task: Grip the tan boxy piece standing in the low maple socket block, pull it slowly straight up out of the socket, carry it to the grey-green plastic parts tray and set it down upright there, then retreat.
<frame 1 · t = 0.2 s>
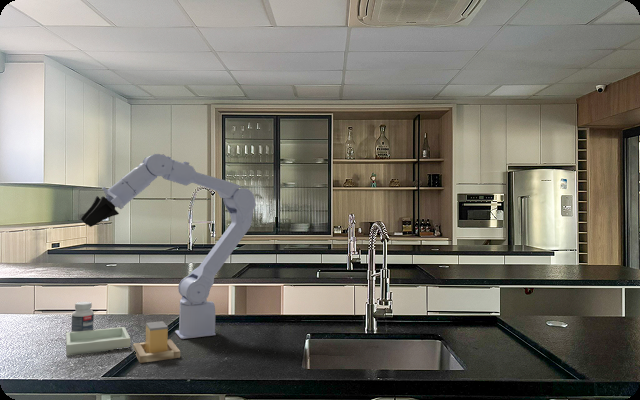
hand: (85, 223, 117), 31 cm above the countertop, tool tilted 45°, fingers open, 7 cm apart
socket block: (156, 353, 114), on the countertop
pill bottle: (82, 336, 127), on the countertop
parts tray: (97, 345, 119), on the countertop
tan boxy piece: (156, 339, 114), in the socket block
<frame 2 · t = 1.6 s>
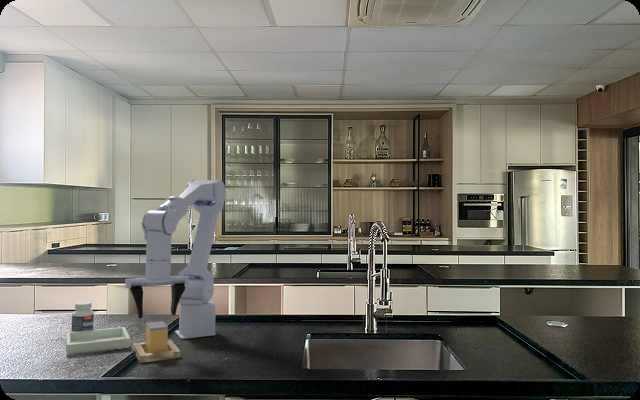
hand: (157, 315, 114), 9 cm above the countertop, tool pointing down, fingers open, 7 cm apart
nothing on the countertop moved.
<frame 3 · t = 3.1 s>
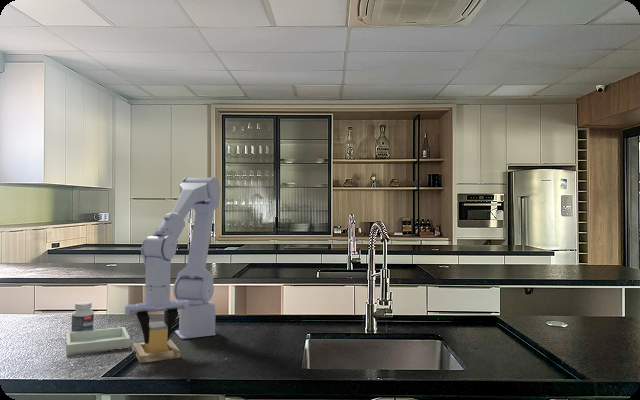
hand: (156, 341, 114), 3 cm above the countertop, tool pointing down, fingers closed on tan boxy piece, 4 cm apart
tan boxy piece: (156, 339, 114), in the socket block, touching gripper
everything else where it was.
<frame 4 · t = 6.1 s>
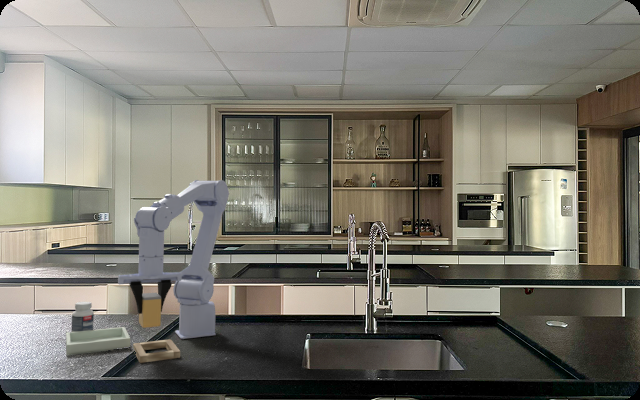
hand: (149, 311, 115), 10 cm above the countertop, tool pointing down, fingers closed on tan boxy piece, 4 cm apart
tan boxy piece: (149, 309, 115), point 10 cm above the countertop, touching gripper
everything else where it was.
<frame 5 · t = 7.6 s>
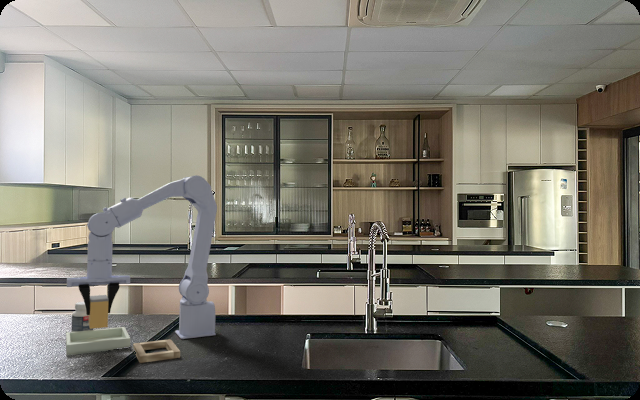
hand: (98, 313, 119), 8 cm above the countertop, tool pointing down, fingers closed on tan boxy piece, 4 cm apart
tan boxy piece: (98, 311, 119), point 9 cm above the countertop, touching gripper
everything else where it was.
when the fingers open (4 cm above the countertop, at t = 9.0 s): tan boxy piece stays where it is, resting on parts tray.
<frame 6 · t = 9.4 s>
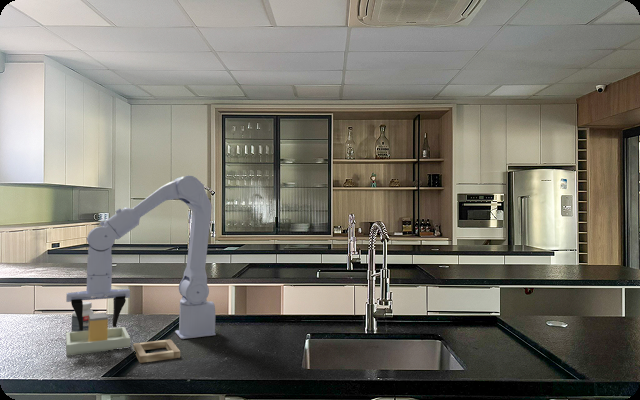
hand: (97, 327, 119), 4 cm above the countertop, tool pointing down, fingers open, 7 cm apart
tan boxy piece: (97, 329, 119), in the parts tray
everything else where it was.
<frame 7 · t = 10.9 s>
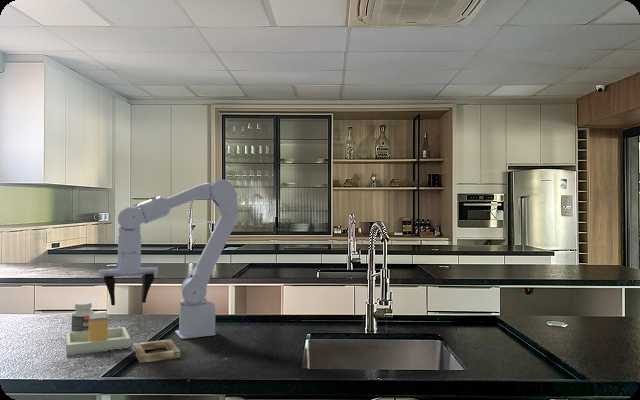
hand: (128, 303, 126), 9 cm above the countertop, tool pointing down, fingers open, 7 cm apart
nothing on the countertop moved.
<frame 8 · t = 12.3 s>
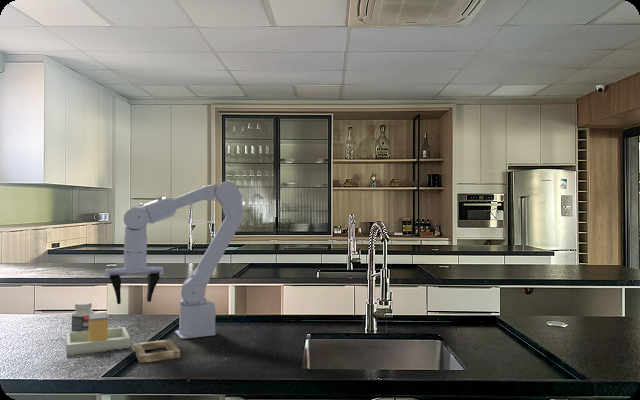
hand: (134, 302, 127), 9 cm above the countertop, tool pointing down, fingers open, 7 cm apart
nothing on the countertop moved.
at the end: tan boxy piece inside the target area on the parts tray (0.1 cm from its centre), point 4.0 cm above the parts tray's base; tan boxy piece tilted 0°; the gripper is holding nothing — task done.
